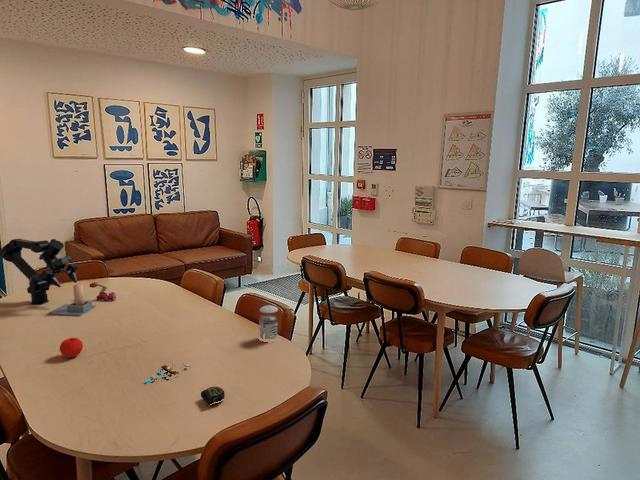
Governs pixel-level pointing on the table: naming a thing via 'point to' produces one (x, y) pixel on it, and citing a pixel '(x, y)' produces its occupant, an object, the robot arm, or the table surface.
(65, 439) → the table surface
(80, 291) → the peg
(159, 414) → the table surface
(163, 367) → the gear mechanism
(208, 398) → the tape measure
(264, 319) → the french press
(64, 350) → the apple
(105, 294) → the toy fire truck
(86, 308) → the jig cradle
